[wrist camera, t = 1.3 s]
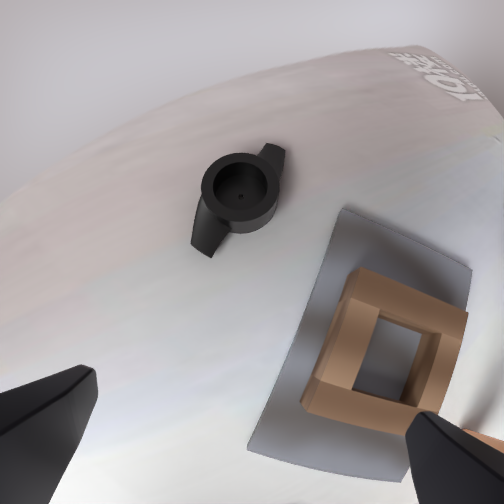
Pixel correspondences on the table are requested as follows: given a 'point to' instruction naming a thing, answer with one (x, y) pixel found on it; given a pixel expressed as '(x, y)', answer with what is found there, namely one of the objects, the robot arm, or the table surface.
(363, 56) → the table surface
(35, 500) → the robot arm
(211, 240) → the black hollow winged cylinder
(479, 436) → the terracotta pin
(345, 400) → the block
